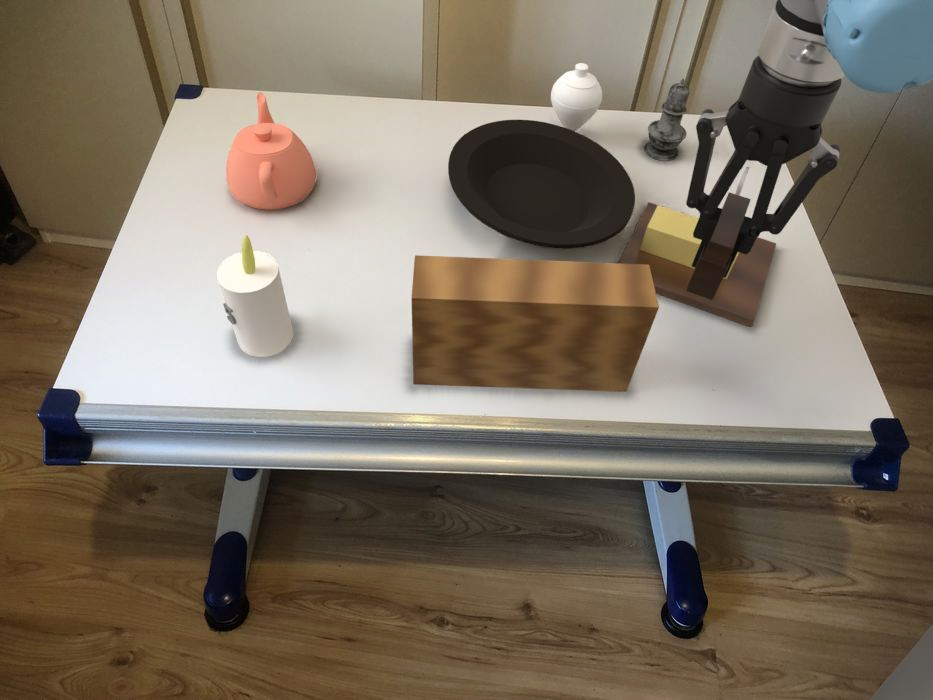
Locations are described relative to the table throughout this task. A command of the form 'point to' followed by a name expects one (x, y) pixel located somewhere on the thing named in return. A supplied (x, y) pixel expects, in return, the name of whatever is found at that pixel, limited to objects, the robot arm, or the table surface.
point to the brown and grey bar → (720, 245)
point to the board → (672, 278)
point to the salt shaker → (669, 125)
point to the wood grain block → (529, 322)
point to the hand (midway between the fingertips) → (711, 264)
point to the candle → (255, 301)
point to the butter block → (671, 236)
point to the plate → (541, 184)
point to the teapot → (269, 164)
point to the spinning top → (576, 97)
